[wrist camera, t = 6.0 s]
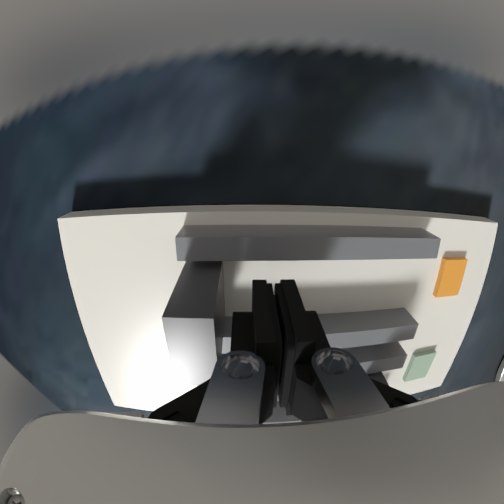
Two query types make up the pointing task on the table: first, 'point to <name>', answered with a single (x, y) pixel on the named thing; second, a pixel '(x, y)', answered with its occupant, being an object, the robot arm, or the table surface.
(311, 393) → the robot arm
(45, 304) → the table surface
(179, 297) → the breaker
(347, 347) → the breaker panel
